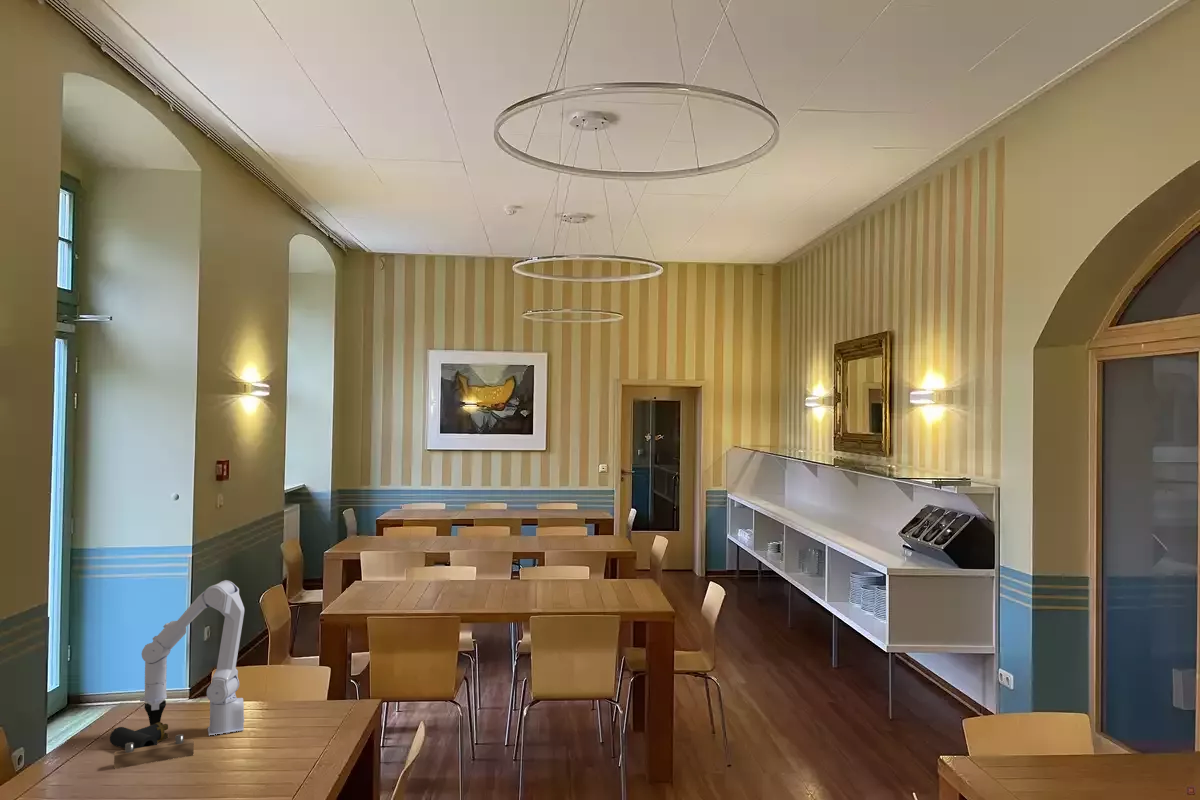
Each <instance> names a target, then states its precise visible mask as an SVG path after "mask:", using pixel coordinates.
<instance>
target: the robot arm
mask: <svg viewBox="0 0 1200 800" xmlns="http://www.w3.org/2000/svg"><path fill="white" fill-rule="evenodd" d="M210 607H211V608H213V609H215V610H217V611H219V612H220V613H221V615H223V616H224V622H223V627H222V633H221V640H220V645H219V651H218V657H217V665H216V670H215V671H214V673H213V676H212V678H211V683H210V684H209V686H208V687H207V689H206V698H207V700H209V726H207V728H208V729H207V734H208V736H209V737H211V736H210V735H214V736H218V735H217V734H220V735H224V734H223V733H226V734H230V732H233V733H238V731H239V732H243V731H244V730H245V729H244V728H245V727H244V723H245V714H244V713H245V708H244V707H245V705H244V704H245V703H244V698H243V697H237V695H236V692H237V691H238V689H239V688H240V680H239V677H238V675H239V670H238V669H237V661H238V656H239V655H238V653H239V649H240V642H241V636H242V630H243V629H242V628H243V623H244V618H245V617H244V616H245V606H244V603H243V601H242V598H241V596H240V588H239V587H238V586H237V585H236V584H235V583H234V582H232V581H231V580H227V579H225V580H222V581H220V582H218V583H216V584H213V585H210V586H208V587H207V588H206V589H205V590H204V591H203V592H202V593H201V594H199V595H198V596H197V597H196V599H195V600H194V601H193V602H192V603H191V604H190V605H189V607H188V608H186V610H185V611H184V612H183V614H182V615H181V616H179V618H178V619H177V620H171V621H170V622H167V623H165V624H164V625H163V626H162V627H163V629H162V630H161V631H160V632H159V633H158V635H154V636H153V637H152V642H150V643H147V644H145V646H144V647H143V648H142V649H141V658H142V659H143V661H144V697H143V696H142V697H140V698H139V701H140V702H141V703H142V702H144V710H145V712H146V714H147V716H148V717H147V718H148V721H149V726H150V725H153V724H155V723H159V722H161V720H162V716H163V713H164V710H165V708H166V706H167V701H166V699H167V698H168V695H167V668H168V667H167V666H168V665H167V657H168V656H169V654H170V653H171V651H172V649H173V648H174V646H175V645H177V644H178V642H179V641H180V640H181V639H182V638H183V637H184V636H185V635H186V634H187V627H188V625H190V624H191V623H192V622H193V620H194V619H196V618H197V617H198V616H199V615H200V614H201V613H202V612H203V611H204V610H205V609H207V608H210ZM236 731H237V732H236ZM215 734H216V735H215Z"/></svg>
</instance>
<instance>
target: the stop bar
mask: <svg viewBox="0 0 1200 800" xmlns="http://www.w3.org/2000/svg"><path fill="white" fill-rule="evenodd" d="M174 737H175V738H174V739H175V741H172V742H167V743H160V744H157V745H153V746H147V747H141V748H135V749H134V743H133V742H130V743H127V744H125V749H124V750H118V751H114V754H113V755H114V756H113V769H114V768H117V769H121V768H120V767H123V768H128V767H132V766H133V767H134V766H139V765H145V764H144V763H146V764H150V763H151V762H152V763H157V762H163V761H169V760H173V758H174V759H179V758H178V757H180V758H184V757H185V756H186V757H190V755H192V756H194V755H193V754H194V753H195V752H194V750H195V749H194V748H195V745H194V744H195V743H194V741H195V740H194V739H193V738H191V739H185V738H184V734H181V733H179V734H176V735H175V736H174ZM184 739H185V740H184ZM168 759H169V760H168ZM156 761H157V762H156Z"/></svg>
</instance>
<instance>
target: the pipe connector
mask: <svg viewBox="0 0 1200 800" xmlns="http://www.w3.org/2000/svg"><path fill="white" fill-rule="evenodd" d="M166 730H169V724H168V723H163V722H161V721H160V722H159V723H155V724H153V725H150V724H149V725H148V726H145V727H142V728H140V729H136V730H134V729H131V728H128V727H124V726H119V727H116V728H115V729H114V730H113V731H111V733H110V735H109V742H110V744H111V745H113V746H116V747H118V748H122V749H124V750H125V744H127V743H130V742H133V743H134V749H135V748H141V747H147V746H153V745H158V743H160V742H162V741H165V740H167V739H169V733H167V732H165V731H166ZM159 741H160V742H159Z"/></svg>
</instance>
